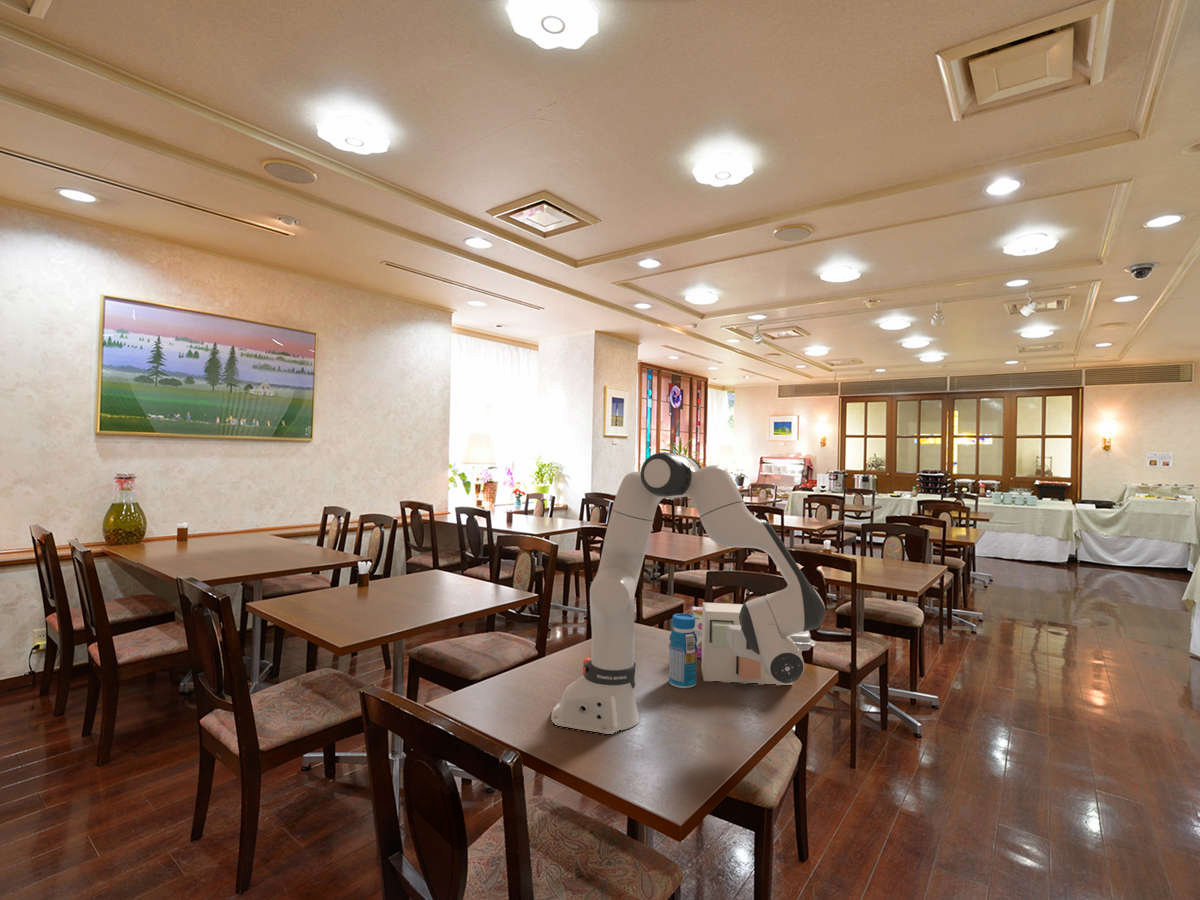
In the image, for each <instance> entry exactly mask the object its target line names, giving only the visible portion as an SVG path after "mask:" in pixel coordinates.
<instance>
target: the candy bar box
mask: <svg viewBox="0 0 1200 900" xmlns="http://www.w3.org/2000/svg"><path fill="white" fill-rule="evenodd" d="M690 608H691V609H690V615H693V616H694V617H695V628H694V629H693V631H694V632H695V634H696V637H697V643H696V645H697V649H698V651H697V660H702V612H703V606H690Z"/></svg>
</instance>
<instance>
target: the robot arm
mask: <svg viewBox="0 0 1200 900" xmlns="http://www.w3.org/2000/svg"><path fill="white" fill-rule="evenodd" d="M623 477H624V478H623V479H622V481H621V483H620V485H619V487H618V490H617V492H616V495H615V498H614V501H613V504H612V508H611V512H610V514H609V515H610V516H609V519H608V523H607V528H606V532H605V535H604V538H603V539H604V541H603V545H602V549H601V556H600V561H599V565H598V568H597V572H596V575H595V576H594V579H593V580H592V581H591V584H590V587H589V607H590V608H589V610H590V611H589V612H590V614H589V615H590V626H591V654H590V655H591V656H590V657H585V658H584V660H583V662H582V663H583V667H582V676H580V677H579V678H577V679H576V680H574V681H573V682H572V683H570V684H569V685H567V687H566V688H565V689H564V691H563V694H562V696H561V699H560V702H558V703H557V704H555V706H554V707H553V709H552V711H551V717H550V719H551V720H552V721H551V723H552V722H553V723H554V724H555V725H558V726H565V727H570V728H576V729H582V730H589V731H594V732H600V733H605V734H612V735H614V734H613V733H615V732H616V733H618V732H620V731H619V730H621V731H624V730H627V729H631V728H633V727H635V726H636V725H637V724H638V723H639V722H640V715H639V714H640V713H639V710H638V706H637V698H636V692H635V691H636V690H635V689H636V688H635V687H636V684H637V668H636V667H637V665H636V664H637V663H636V662H635V635H636V632H635V631H636V630H635V596H636V595H635V594H636V591H637V586H638V583H639V579H640V575H641V571H642V567H643V563H644V559H645V555H646V552H647V547H648V543H649V540H650V536H651V532H652V528H653V524H654V519H655V516H656V512H657V507H658V505H659V504H660V502H661V501H662V500H663V499H686V498H688V499H690V500H691V501H692V503H693V505H694V506H695V509H696V511H697V514H698V518H699V519H700V523H701V524H702V527H703V529H704V530H705V533H706V535H707V536H708V538H709V539H710V540H711V541H712V542H714V543H715V544H717V545H719V546H722V547H727V548H739V549H740V548H743V549H745V548H746V549H747V548H748V549H757V550H760V551H762V552H765V553H766V555H767V554H768V555H769V557H770V558H771V559H772V561H773V563H774V565H775V566H776V568H777V569H778V571H779V572H780V574H781V575H782V577H783V579H784V581H785V582H786V584H787V586H786V587H785V588H783V589H780V590H777V591H775V592H772V593H769V594H766V595H762V596H759V597H757V598H753V599H750V600H748V601H746V602H744V603H742V604H743V606H742V608H741V611H740V614H739V620H740V625H727V626H726V640H727V642H728V644H729V646H730V647H731V648H732V649H734V650H735V653H736V655H737V656H739V657H744V658H749V659H753V660H756V661H759V662H761V664H762V666H763V667H764V669H765V671H766V672H767V673H768V674H769V676H770V677H771V678H773V679H774V680H775V681H777V682H780V683H784V684H787V683H792V682H793V683H794V682H796V681H798V680H799V679H801V677H802V675H803V673H804V670H805V662H804V657H803V655H802V653H801V652H802V651H803V652H805V651H809V650H810V649H811V648H812V647H813V648H814V647H816V646H817V642H816V641H815V640H813V639H812V638H811V633H810V631H812V630H817V629H820V627H821V625H822V624H823V622H824V620H825V618H826V614H827V610H826V606H825V603H824V601H823V599H822V598H821V596H820V593H818V592H817V590H816V589H815V588H814V587H813V586H812V584H811V583H810V582H809V580H808V578H807V577H806V576H805V574H804V572H803V571H802V570H801V568H800V567H799V565H798V563H797V562H796V561H795V559H794V558H793V556H792V555H791V552H790V551H789V550H788V547H786V545H785V544H784V542H783V540H782V539H781V538H780V536H779V534H778V533H777V532H776V530H775V529H774V528H773V526H772V525H771V524H770V523H769V522H768V521H767V520H765V519H761V518H758V517H756V516H755V515H754V514H752V513H751V511H750V510H749V509H748V508H747V505H746V503H745V501H744V499H743V497H742V494H741V493H740V490H739V488H738V486H737V485H736V483H735V481H734V479H733V478H732V476H731V475H730V474H729V472H728V470H727V469H726V468H724V467H723V466H720V465H716V464H715V465H706V466H704V467H702V466H701V465H700V464H699V463H698V462H697V461H696V460H695V459H693V458H691V457H690V456H689V457H688V456H686V455H684V454H679V453H670V452H657V453H654V454H652V455H650V456H648V457H647V458H646V459H645V461H644V462H643V464H642V466H641V469H640V471H634V472H633V471H632V472H629V473H627V474H626V475H625V476H623ZM553 723H552V724H553ZM617 731H618V732H617ZM616 733H615V734H616Z"/></svg>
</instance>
